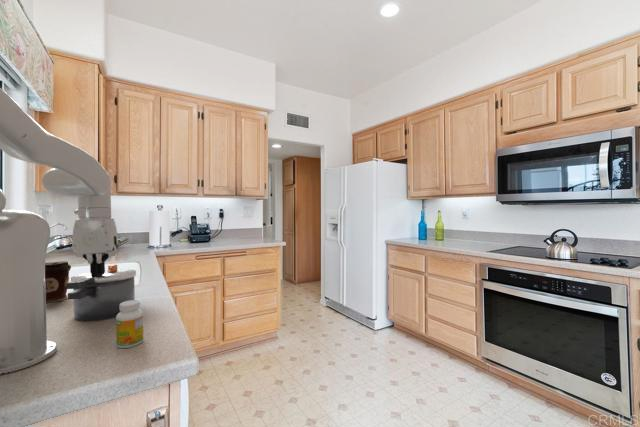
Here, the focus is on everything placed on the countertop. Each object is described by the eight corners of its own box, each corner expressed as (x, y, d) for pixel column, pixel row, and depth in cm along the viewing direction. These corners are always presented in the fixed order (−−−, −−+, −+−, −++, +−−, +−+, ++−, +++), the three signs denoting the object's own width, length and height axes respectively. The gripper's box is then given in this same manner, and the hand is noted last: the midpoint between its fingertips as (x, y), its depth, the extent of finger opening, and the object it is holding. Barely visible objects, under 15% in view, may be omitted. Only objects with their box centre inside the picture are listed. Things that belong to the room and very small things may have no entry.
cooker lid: (93, 273, 96) (93, 263, 96) (145, 272, 98) (145, 262, 98) (38, 290, 74) (38, 277, 75) (106, 287, 77) (106, 275, 77)
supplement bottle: (110, 347, 67) (109, 306, 67) (128, 337, 72) (128, 298, 72) (131, 349, 66) (130, 307, 66) (148, 338, 72) (148, 299, 71)
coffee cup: (54, 304, 96) (53, 265, 96) (30, 304, 96) (28, 265, 96) (77, 296, 105) (76, 260, 104) (54, 296, 105) (53, 260, 105)
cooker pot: (106, 328, 77) (105, 291, 77) (43, 331, 75) (42, 293, 75) (145, 300, 100) (145, 271, 99) (97, 302, 98) (97, 273, 97)
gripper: (57, 214, 80) (60, 280, 81) (115, 214, 82) (118, 278, 83) (76, 213, 87) (78, 273, 88) (129, 213, 89) (131, 272, 90)
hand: (97, 275), depth 86 cm, fingers closed
